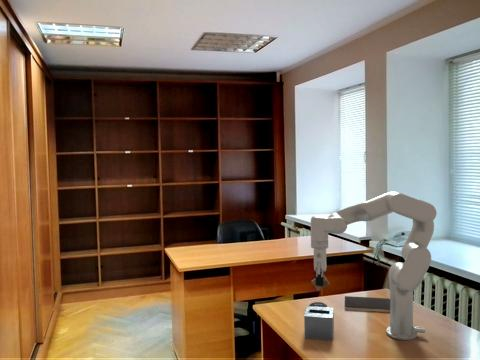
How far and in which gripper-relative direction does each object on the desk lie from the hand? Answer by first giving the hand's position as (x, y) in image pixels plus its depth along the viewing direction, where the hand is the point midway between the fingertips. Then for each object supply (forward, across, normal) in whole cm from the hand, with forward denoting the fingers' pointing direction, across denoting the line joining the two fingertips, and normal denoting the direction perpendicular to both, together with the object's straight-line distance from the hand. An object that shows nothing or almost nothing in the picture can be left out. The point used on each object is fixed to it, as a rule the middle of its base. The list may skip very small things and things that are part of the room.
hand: (319, 284), depth 188 cm
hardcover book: (+23, +38, -22) cm, 50 cm away
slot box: (+22, 0, 0) cm, 22 cm away
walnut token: (+1, 0, -2) cm, 2 cm away
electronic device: (+23, +26, +3) cm, 35 cm away
